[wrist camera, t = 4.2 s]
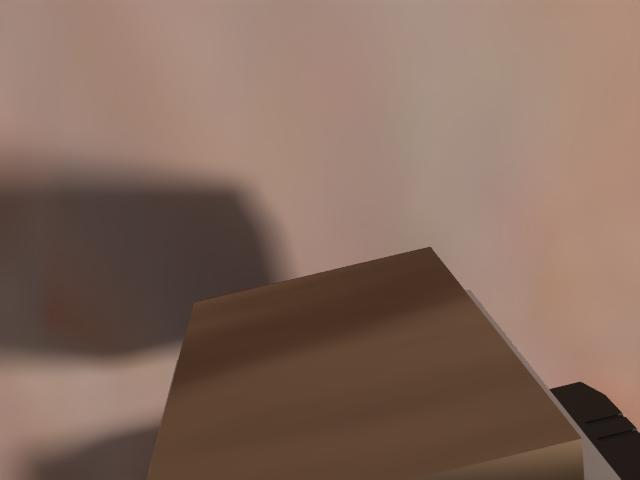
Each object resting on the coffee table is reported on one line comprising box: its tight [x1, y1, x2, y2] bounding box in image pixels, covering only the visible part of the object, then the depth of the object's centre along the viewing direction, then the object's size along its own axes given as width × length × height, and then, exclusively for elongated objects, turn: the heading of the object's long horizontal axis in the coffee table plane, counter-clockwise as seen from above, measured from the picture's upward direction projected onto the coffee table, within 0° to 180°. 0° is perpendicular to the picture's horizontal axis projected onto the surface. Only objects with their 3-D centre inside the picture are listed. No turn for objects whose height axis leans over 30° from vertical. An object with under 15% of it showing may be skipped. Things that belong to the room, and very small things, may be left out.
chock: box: [146, 247, 584, 480], centre depth 11 cm, size 5×6×7 cm
